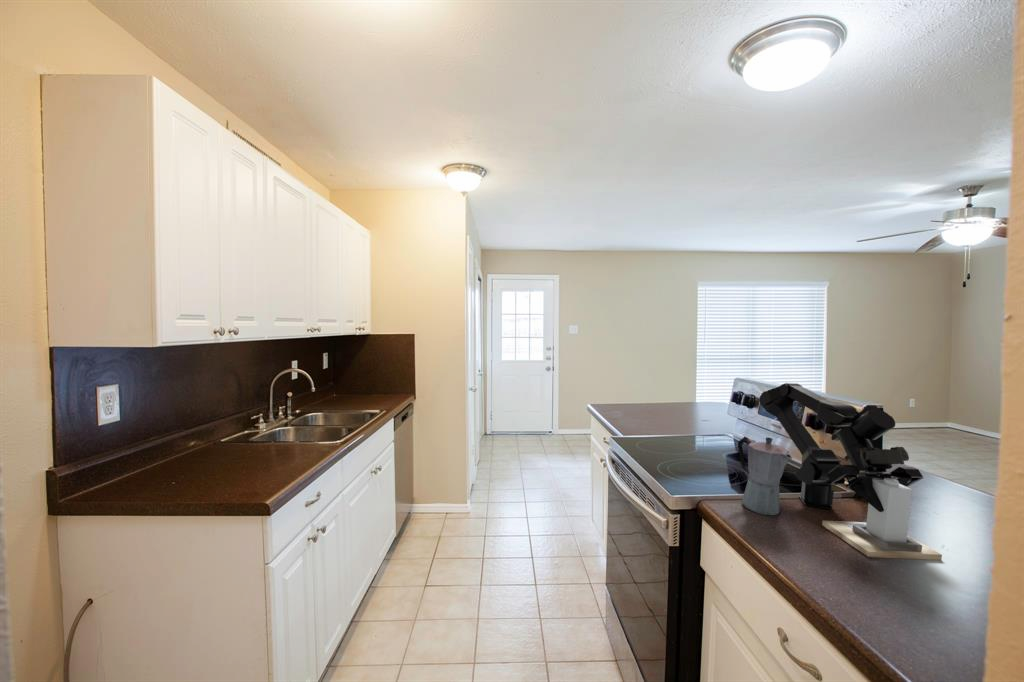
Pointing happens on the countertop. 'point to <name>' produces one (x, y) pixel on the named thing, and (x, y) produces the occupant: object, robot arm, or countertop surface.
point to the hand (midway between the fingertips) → (893, 512)
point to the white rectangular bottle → (890, 511)
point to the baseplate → (879, 542)
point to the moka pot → (763, 475)
